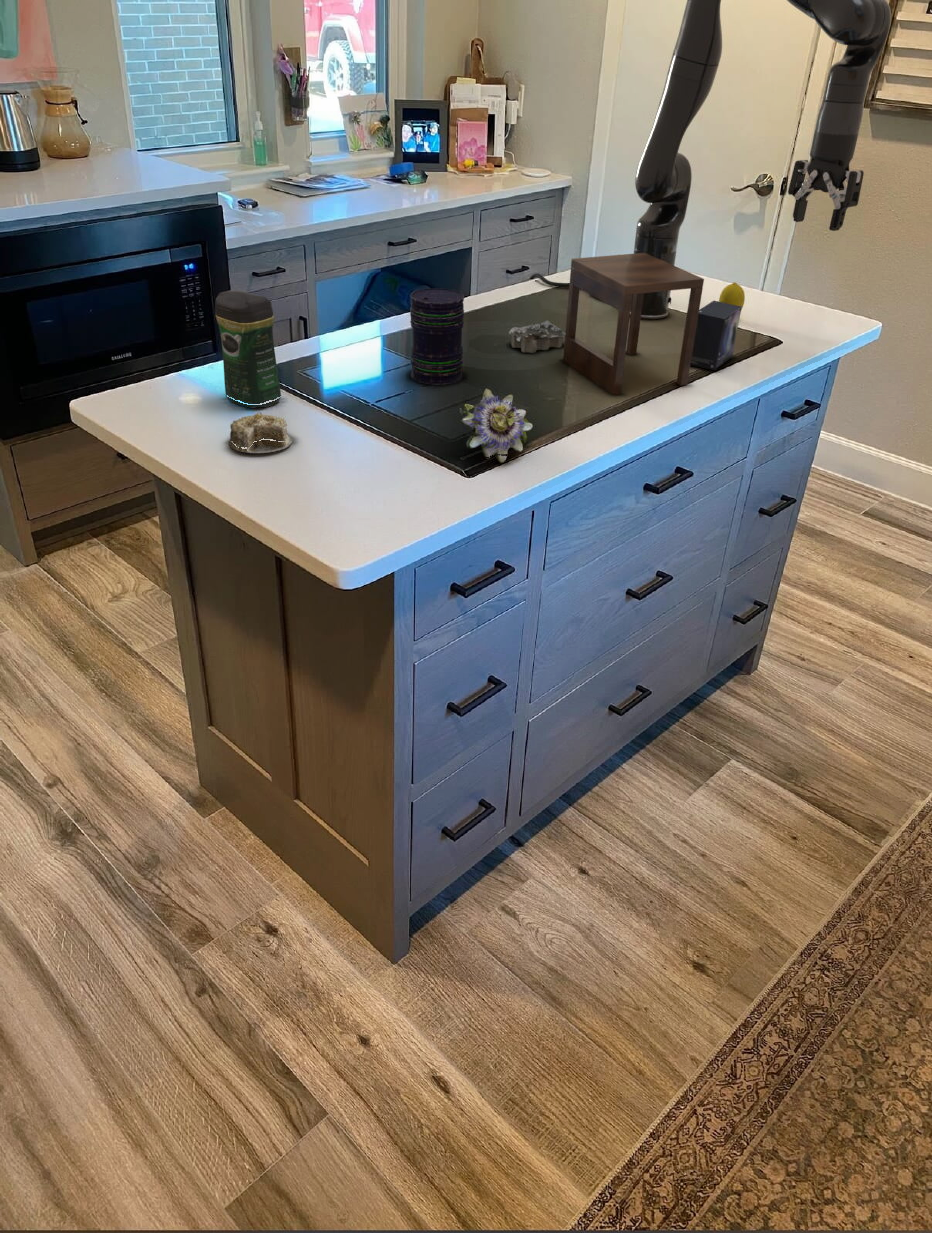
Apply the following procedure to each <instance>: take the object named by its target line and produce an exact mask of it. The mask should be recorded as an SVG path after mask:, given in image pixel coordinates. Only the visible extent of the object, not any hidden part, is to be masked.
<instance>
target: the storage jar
mask: <svg viewBox="0 0 932 1233" xmlns="http://www.w3.org/2000/svg"><path fill="white" fill-rule="evenodd" d="M410 301H411V302H410V309H409V310H410V311H409V312H410V313H409V316H410V321H409V322H410V327H411V334H412V335H411V347H410V364H411V365H410V366H411V374H410V376H411V378H412V379H413V380H414V381H416V382H417V383H421V384H425V385H432V386H433V385H436V386H441V385H449V384H454V383H457V382H459V381H460V380H461V379H462V378H463V373H462V369H463V363H464V356H463V355H464V348H463V346H462V342H463V341H462V340H463V338H462V337H463V336H462V335H463V328H464V324H465V321H464V317H465V309H464V301H465V295H464V294H463V293H462V292H461V291H458V290H455V289H450V288H440V287H439V288H438V287H435V288H434V287H433V288H431V287H430V288H429V287H428V288H422V289H418V290H415V291H413V292H411V293H410Z"/></svg>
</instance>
